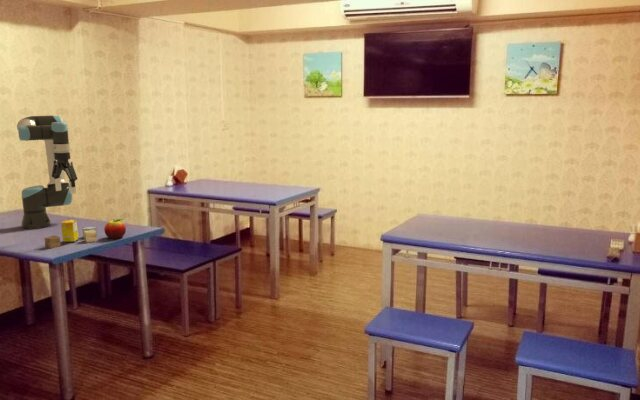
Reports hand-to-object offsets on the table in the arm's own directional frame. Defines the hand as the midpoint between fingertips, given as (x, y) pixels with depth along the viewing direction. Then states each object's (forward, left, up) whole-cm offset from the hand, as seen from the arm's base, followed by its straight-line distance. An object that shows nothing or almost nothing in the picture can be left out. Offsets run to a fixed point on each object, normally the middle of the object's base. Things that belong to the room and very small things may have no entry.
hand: (65, 191), depth 277 cm
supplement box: (+10, -3, -25) cm, 27 cm away
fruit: (+19, +17, -25) cm, 36 cm away
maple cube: (+16, +5, -25) cm, 30 cm away
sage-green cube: (+7, +8, -25) cm, 27 cm away
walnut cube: (+14, -13, -25) cm, 31 cm away
